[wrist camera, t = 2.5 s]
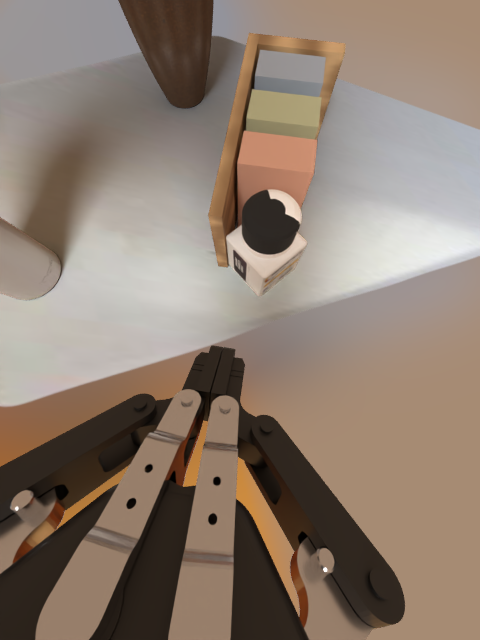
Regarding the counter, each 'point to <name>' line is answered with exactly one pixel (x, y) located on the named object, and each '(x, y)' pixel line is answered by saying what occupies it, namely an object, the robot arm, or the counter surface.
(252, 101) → the book
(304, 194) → the book
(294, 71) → the book
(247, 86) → the wooden book rack
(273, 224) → the container
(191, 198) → the counter surface
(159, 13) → the plant pot
